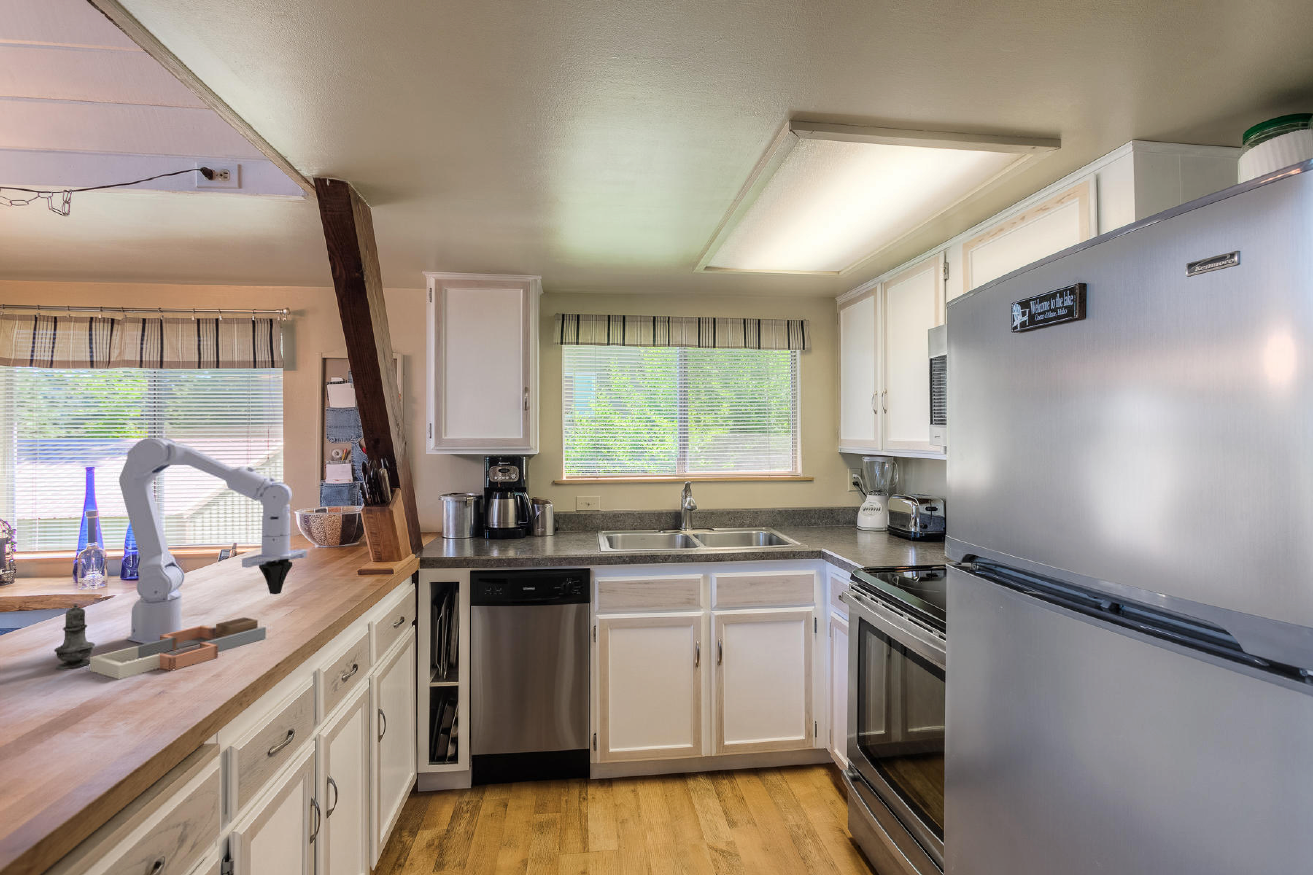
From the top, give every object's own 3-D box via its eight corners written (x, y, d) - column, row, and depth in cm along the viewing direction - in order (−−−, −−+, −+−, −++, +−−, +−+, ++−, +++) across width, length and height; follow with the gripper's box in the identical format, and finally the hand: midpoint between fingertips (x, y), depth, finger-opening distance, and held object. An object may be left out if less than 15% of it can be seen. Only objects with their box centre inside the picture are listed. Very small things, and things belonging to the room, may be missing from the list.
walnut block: (215, 642, 142) (216, 623, 142) (243, 634, 147) (244, 617, 147) (229, 645, 139) (229, 626, 139) (257, 638, 145) (257, 620, 145)
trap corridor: (79, 667, 125) (80, 654, 125) (227, 630, 150) (227, 619, 150) (130, 682, 117) (130, 668, 117) (276, 640, 142) (276, 629, 142)
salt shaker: (70, 671, 122) (71, 608, 122) (45, 669, 123) (46, 606, 124) (102, 661, 128) (103, 600, 128) (78, 659, 129) (79, 598, 129)
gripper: (256, 540, 143) (255, 602, 143) (315, 532, 156) (315, 588, 156) (236, 538, 146) (235, 598, 146) (296, 530, 159) (295, 585, 159)
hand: (275, 593), depth 151 cm, fingers closed
